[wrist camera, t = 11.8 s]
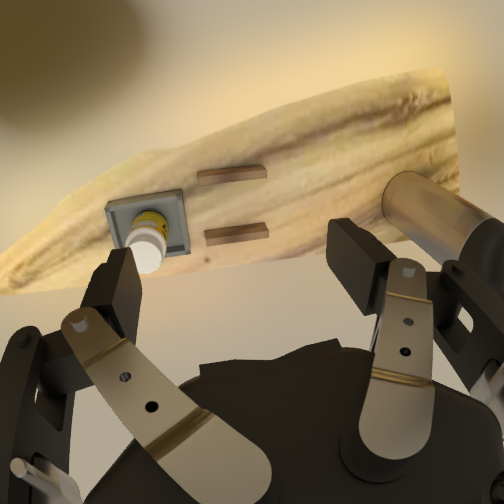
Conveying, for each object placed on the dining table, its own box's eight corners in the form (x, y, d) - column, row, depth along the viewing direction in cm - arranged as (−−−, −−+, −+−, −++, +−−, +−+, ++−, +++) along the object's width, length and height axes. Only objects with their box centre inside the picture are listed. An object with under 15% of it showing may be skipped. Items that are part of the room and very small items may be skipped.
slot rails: (262, 164, 37) (266, 169, 35) (264, 229, 42) (268, 237, 39) (197, 172, 36) (198, 177, 34) (205, 237, 40) (206, 246, 38)
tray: (181, 189, 36) (181, 194, 35) (190, 245, 41) (190, 253, 39) (108, 201, 35) (104, 207, 33) (122, 255, 39) (119, 264, 37)
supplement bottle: (167, 243, 39) (164, 279, 32) (132, 240, 38) (121, 276, 31) (170, 209, 37) (166, 240, 30) (133, 206, 36) (121, 236, 28)
